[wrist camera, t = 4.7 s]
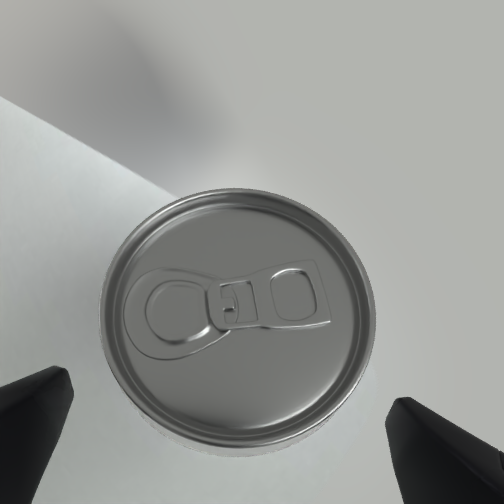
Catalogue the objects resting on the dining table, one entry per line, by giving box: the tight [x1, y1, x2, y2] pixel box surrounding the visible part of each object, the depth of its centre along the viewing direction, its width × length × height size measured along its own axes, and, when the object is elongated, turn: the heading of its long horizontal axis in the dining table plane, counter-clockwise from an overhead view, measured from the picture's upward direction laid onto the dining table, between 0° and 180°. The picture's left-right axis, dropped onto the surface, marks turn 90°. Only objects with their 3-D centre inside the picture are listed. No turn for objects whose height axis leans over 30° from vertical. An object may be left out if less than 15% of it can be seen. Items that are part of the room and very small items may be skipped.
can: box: [99, 188, 376, 457], centre depth 11 cm, size 6×6×12 cm
